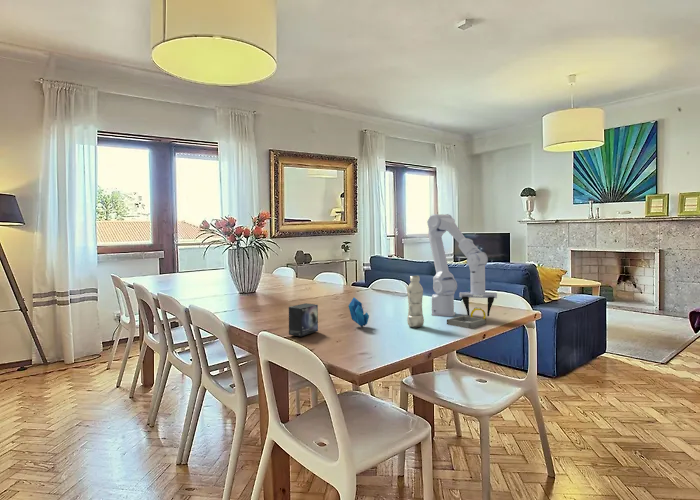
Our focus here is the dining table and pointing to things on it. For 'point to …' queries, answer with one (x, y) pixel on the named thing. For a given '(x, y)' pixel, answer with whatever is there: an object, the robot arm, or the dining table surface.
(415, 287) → the plastic bottle
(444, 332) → the dining table surface
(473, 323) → the box
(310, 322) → the small box
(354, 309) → the crystal
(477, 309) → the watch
